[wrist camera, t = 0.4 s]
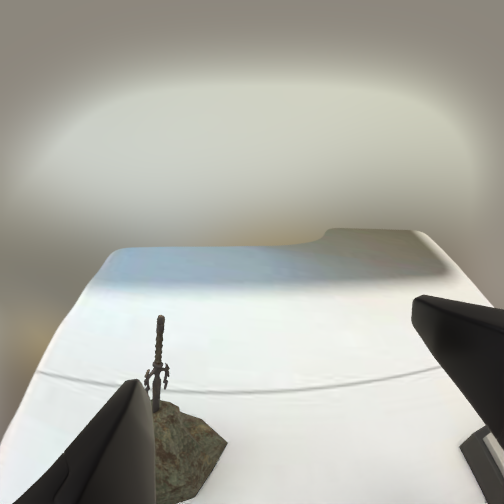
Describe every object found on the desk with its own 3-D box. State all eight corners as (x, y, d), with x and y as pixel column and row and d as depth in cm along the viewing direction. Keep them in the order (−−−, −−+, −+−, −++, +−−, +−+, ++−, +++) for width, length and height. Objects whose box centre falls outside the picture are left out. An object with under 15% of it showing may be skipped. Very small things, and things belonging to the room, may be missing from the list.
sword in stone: (145, 533, 12) (51, 483, 6) (82, 458, 16) (-2, 357, 10) (244, 452, 18) (242, 347, 13) (173, 396, 23) (142, 280, 17)
